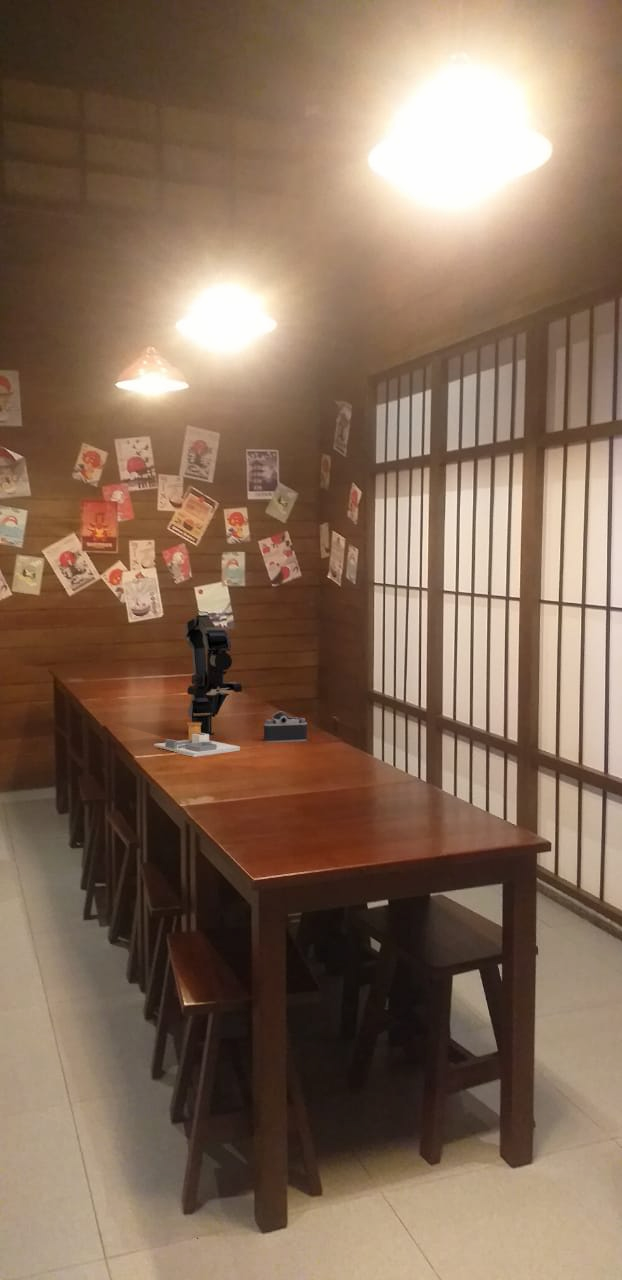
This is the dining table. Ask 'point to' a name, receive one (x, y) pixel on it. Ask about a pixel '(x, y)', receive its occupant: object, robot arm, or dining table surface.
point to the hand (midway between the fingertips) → (215, 714)
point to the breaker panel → (197, 747)
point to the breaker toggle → (200, 737)
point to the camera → (285, 728)
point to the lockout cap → (194, 728)
